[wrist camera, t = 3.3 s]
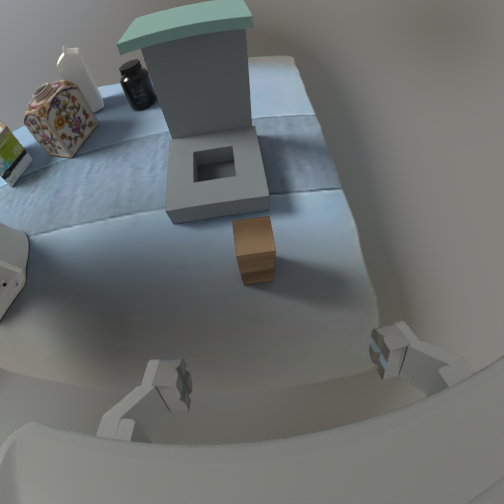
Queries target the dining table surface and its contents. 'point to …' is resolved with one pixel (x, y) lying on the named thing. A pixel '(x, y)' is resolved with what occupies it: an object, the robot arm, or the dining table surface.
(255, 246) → the walnut peg
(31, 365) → the dining table surface
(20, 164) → the tea box
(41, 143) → the decorative jar
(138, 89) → the supplement bottle
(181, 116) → the socket stand
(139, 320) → the dining table surface
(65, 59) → the milk
